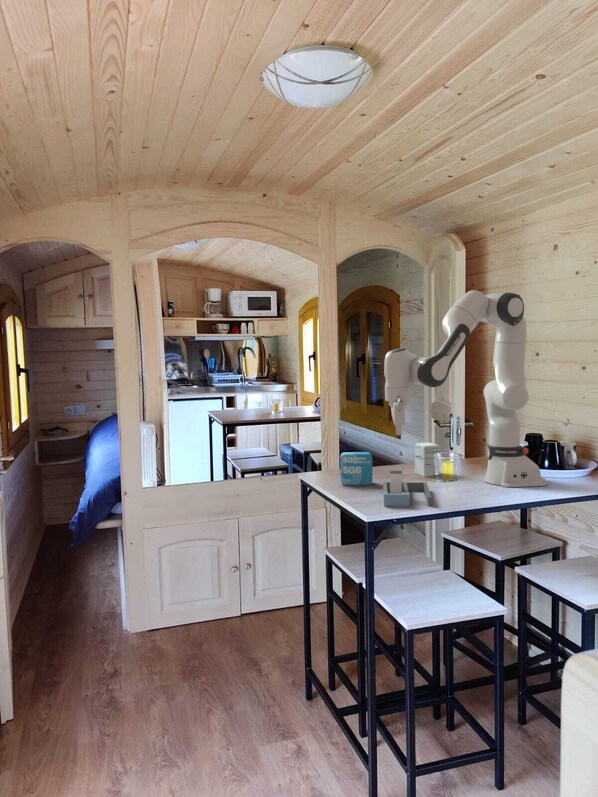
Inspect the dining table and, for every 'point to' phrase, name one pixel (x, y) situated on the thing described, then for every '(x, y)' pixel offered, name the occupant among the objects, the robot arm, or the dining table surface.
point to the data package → (356, 468)
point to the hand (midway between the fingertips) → (398, 434)
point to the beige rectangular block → (395, 481)
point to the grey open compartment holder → (405, 494)
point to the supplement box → (425, 459)
